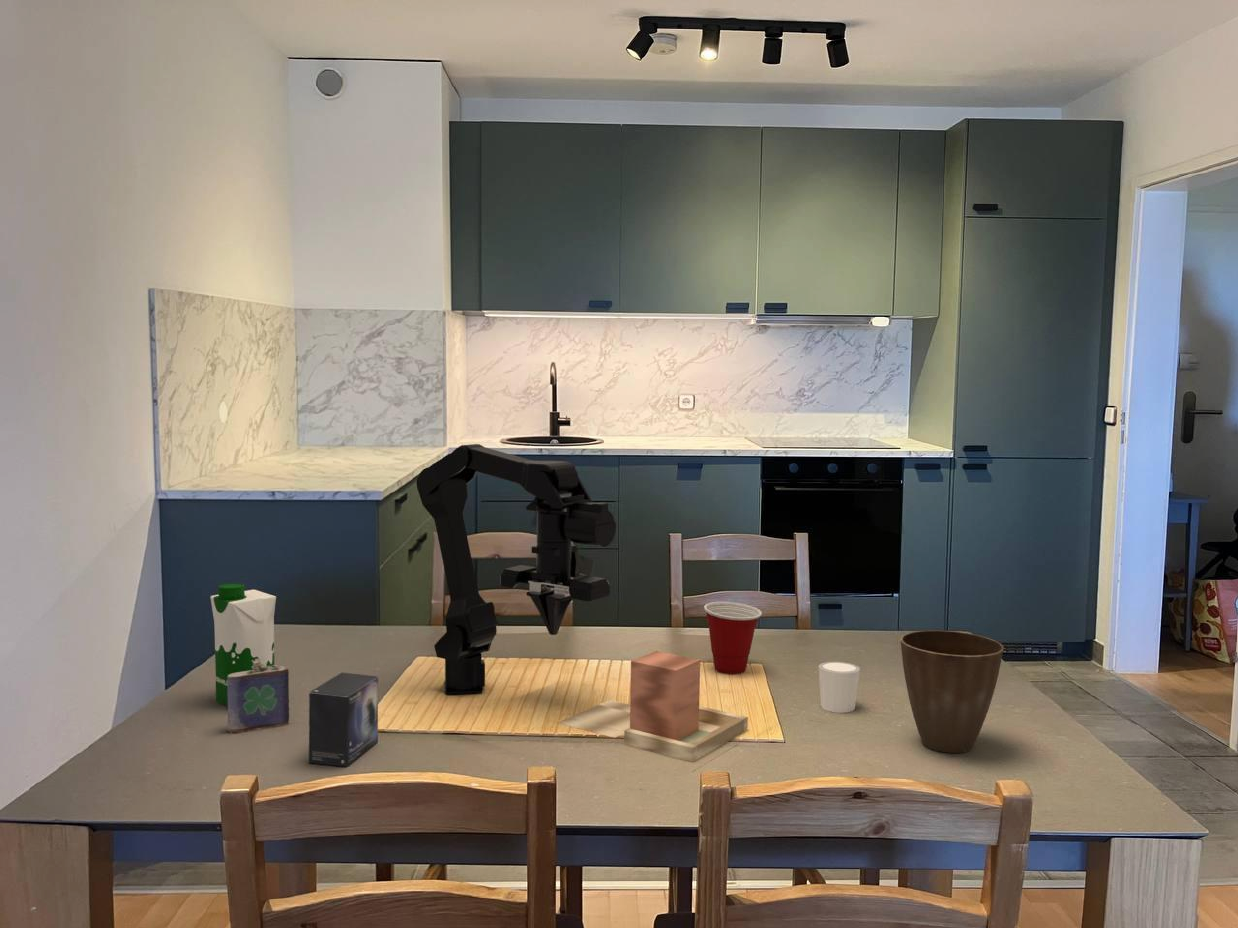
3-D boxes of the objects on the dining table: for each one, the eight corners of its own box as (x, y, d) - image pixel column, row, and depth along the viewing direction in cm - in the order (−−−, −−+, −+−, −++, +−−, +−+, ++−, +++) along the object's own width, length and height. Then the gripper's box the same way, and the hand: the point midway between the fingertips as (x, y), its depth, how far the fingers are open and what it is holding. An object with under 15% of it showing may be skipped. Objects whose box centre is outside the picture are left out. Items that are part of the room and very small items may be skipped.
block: (629, 731, 162) (630, 660, 161) (654, 719, 168) (656, 650, 167) (674, 743, 157) (675, 670, 156) (698, 729, 163) (700, 659, 162)
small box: (349, 768, 150) (348, 695, 149) (306, 764, 151) (305, 692, 150) (380, 742, 160) (380, 674, 159) (340, 738, 162) (340, 671, 161)
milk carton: (207, 701, 178) (204, 583, 176) (258, 689, 184) (255, 575, 182) (233, 713, 172) (230, 591, 170) (284, 701, 178) (282, 583, 176)
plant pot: (886, 726, 170) (890, 628, 169) (980, 728, 170) (985, 630, 168) (909, 761, 156) (913, 654, 154) (1012, 764, 155) (1018, 656, 154)
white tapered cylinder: (862, 704, 181) (864, 664, 181) (853, 716, 175) (855, 674, 174) (822, 698, 184) (824, 658, 183) (812, 709, 178) (813, 669, 177)
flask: (229, 734, 163) (228, 665, 162) (225, 728, 165) (224, 660, 164) (291, 724, 167) (290, 658, 166) (286, 719, 170) (285, 653, 169)
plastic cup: (744, 682, 193) (746, 617, 191) (692, 672, 198) (693, 609, 197) (769, 668, 202) (771, 605, 201) (718, 658, 207) (719, 598, 206)
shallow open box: (552, 733, 165) (552, 711, 164) (613, 706, 178) (613, 686, 178) (692, 771, 150) (692, 747, 150) (747, 739, 164) (747, 716, 163)
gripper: (630, 539, 173) (628, 633, 175) (541, 527, 184) (540, 616, 186) (589, 549, 164) (588, 647, 166) (498, 536, 175) (497, 629, 177)
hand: (553, 634), depth 174 cm, fingers closed
